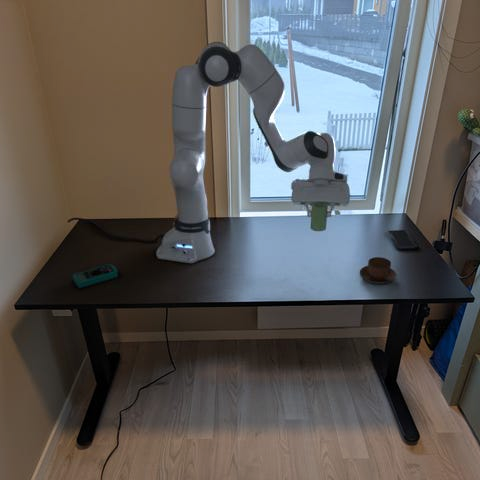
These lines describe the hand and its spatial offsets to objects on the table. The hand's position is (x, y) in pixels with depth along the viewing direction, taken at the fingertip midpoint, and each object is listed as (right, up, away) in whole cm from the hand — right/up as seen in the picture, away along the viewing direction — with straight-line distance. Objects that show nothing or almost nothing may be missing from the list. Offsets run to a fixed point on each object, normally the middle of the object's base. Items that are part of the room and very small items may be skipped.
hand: (319, 216), depth 160 cm
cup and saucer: (+20, -22, -2) cm, 29 cm away
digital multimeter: (-79, -22, +4) cm, 82 cm away
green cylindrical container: (0, -4, +3) cm, 5 cm away
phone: (+36, -5, +21) cm, 42 cm away
